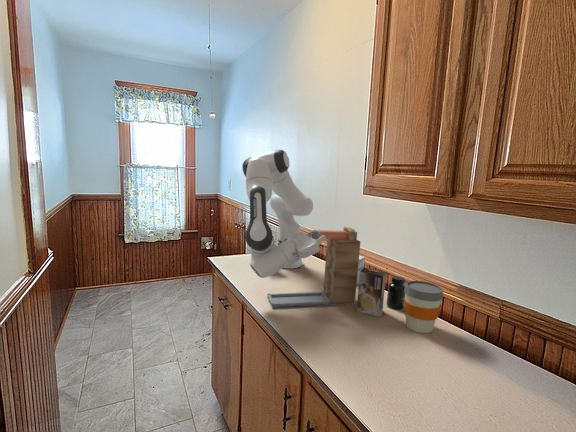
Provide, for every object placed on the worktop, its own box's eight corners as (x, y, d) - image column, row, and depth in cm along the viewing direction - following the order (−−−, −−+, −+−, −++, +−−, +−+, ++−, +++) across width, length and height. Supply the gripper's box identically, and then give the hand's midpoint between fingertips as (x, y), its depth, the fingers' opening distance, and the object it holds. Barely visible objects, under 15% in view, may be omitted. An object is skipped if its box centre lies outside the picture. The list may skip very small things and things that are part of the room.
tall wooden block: (322, 295, 140) (328, 225, 135) (344, 294, 142) (350, 225, 138) (331, 305, 130) (337, 230, 126) (354, 303, 133) (361, 230, 128)
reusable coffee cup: (418, 338, 108) (423, 295, 106) (393, 320, 120) (397, 281, 117) (446, 332, 113) (452, 291, 111) (419, 316, 124) (424, 279, 122)
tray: (267, 297, 134) (267, 293, 133) (322, 295, 140) (322, 291, 139) (272, 308, 124) (272, 304, 124) (331, 305, 130) (331, 301, 130)
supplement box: (356, 285, 154) (359, 259, 152) (342, 281, 159) (344, 256, 157) (363, 281, 160) (365, 256, 158) (349, 277, 164) (351, 253, 162)
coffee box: (383, 311, 127) (387, 271, 125) (379, 317, 122) (384, 276, 119) (360, 305, 132) (363, 267, 129) (355, 311, 126) (359, 271, 124)
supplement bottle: (405, 311, 129) (408, 281, 127) (387, 308, 130) (390, 279, 128) (402, 304, 135) (405, 276, 134) (385, 301, 137) (388, 274, 135)
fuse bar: (311, 237, 130) (312, 230, 130) (353, 237, 135) (354, 230, 134) (314, 239, 128) (314, 231, 127) (356, 239, 132) (357, 232, 132)
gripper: (294, 251, 117) (327, 232, 119) (281, 238, 136) (309, 222, 138) (301, 266, 119) (333, 247, 120) (287, 251, 138) (315, 235, 140)
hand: (320, 234), depth 130 cm, fingers open, 8 cm apart
